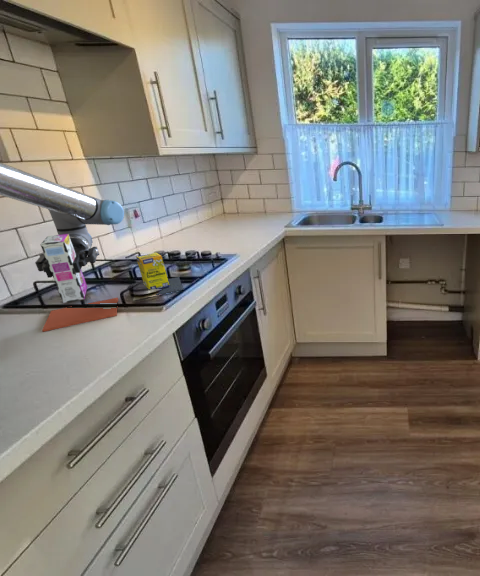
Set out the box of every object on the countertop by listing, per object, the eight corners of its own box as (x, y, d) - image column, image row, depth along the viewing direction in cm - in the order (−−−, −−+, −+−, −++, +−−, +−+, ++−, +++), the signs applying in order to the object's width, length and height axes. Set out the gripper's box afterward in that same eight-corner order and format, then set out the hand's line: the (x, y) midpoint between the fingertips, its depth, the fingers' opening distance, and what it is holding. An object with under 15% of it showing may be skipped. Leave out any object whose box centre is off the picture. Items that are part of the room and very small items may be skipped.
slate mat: (133, 301, 111) (132, 299, 111) (133, 287, 122) (132, 285, 122) (183, 290, 118) (183, 289, 118) (179, 278, 129) (178, 276, 129)
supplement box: (150, 292, 116) (140, 260, 112) (144, 287, 120) (135, 256, 115) (170, 286, 120) (161, 255, 116) (164, 282, 124) (155, 252, 119)
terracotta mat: (42, 332, 94) (41, 330, 94) (51, 312, 105) (51, 310, 105) (116, 315, 102) (116, 313, 102) (118, 299, 113) (117, 297, 113)
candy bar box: (86, 299, 98) (64, 241, 92) (63, 304, 96) (38, 244, 89) (89, 287, 107) (69, 232, 100) (67, 291, 104) (45, 235, 98)
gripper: (112, 255, 118) (109, 276, 100) (39, 266, 109) (21, 291, 91) (104, 233, 115) (100, 250, 97) (29, 242, 106) (8, 263, 88)
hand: (62, 270), depth 94 cm, fingers closed on candy bar box, 5 cm apart
